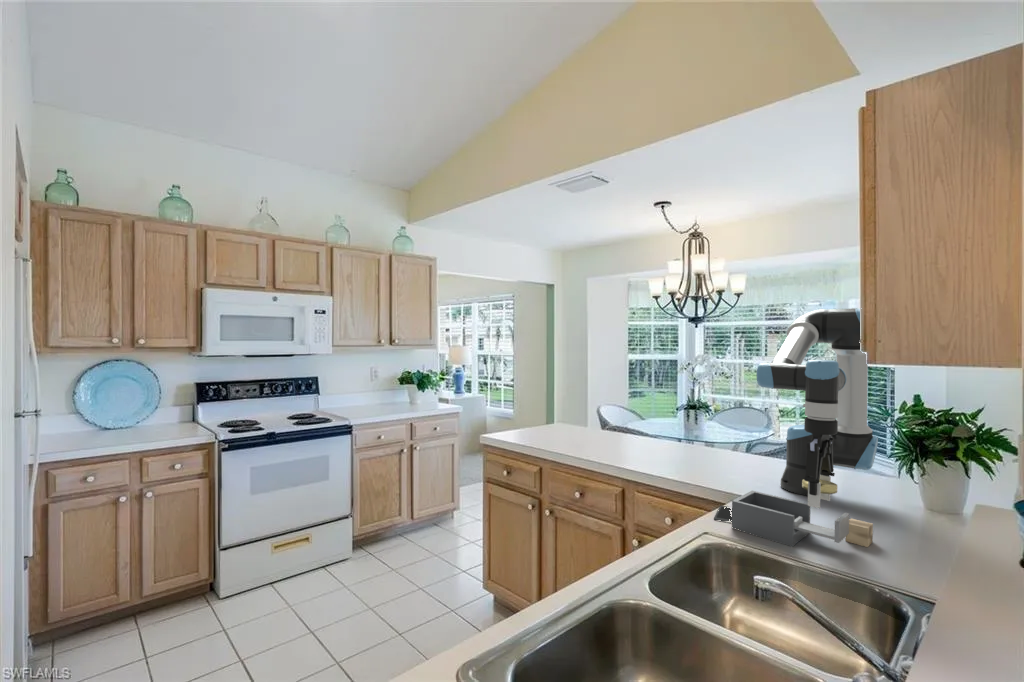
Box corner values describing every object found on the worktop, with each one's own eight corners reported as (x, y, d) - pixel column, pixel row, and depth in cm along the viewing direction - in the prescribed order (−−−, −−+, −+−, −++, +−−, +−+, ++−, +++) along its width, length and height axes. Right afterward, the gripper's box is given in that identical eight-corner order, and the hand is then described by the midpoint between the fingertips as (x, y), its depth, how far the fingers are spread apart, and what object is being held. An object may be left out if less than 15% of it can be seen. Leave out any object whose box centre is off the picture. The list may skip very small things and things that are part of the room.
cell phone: (713, 521, 149) (713, 518, 149) (720, 507, 161) (720, 504, 161) (739, 526, 145) (740, 523, 145) (744, 511, 157) (745, 509, 157)
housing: (751, 516, 152) (752, 490, 152) (809, 532, 140) (810, 504, 140) (731, 528, 143) (732, 500, 143) (792, 546, 131) (792, 516, 131)
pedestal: (850, 536, 138) (851, 518, 138) (872, 541, 134) (872, 523, 134) (845, 541, 134) (846, 523, 134) (867, 547, 131) (868, 528, 131)
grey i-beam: (791, 518, 142) (791, 500, 142) (848, 533, 131) (849, 513, 131) (779, 527, 136) (779, 507, 135) (838, 543, 125) (839, 522, 125)
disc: (841, 489, 132) (841, 483, 132) (832, 495, 127) (832, 489, 127) (807, 482, 138) (807, 476, 138) (797, 488, 132) (797, 482, 132)
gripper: (817, 412, 142) (815, 491, 142) (791, 420, 128) (789, 508, 128) (848, 415, 136) (846, 498, 137) (824, 424, 122) (822, 516, 123)
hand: (819, 502), depth 132 cm, fingers closed on disc, 8 cm apart
